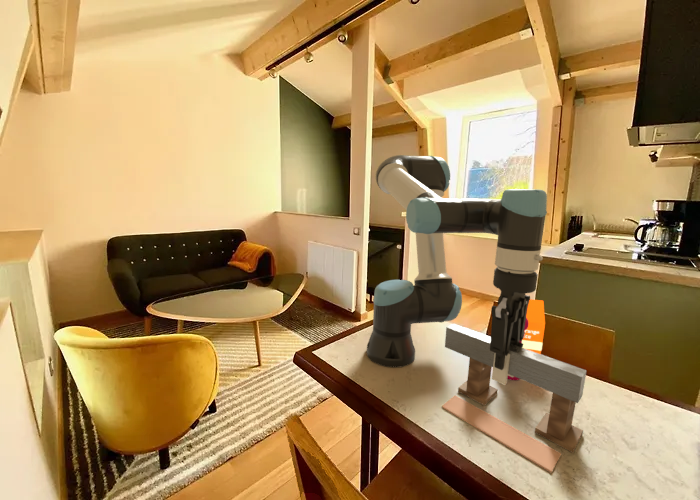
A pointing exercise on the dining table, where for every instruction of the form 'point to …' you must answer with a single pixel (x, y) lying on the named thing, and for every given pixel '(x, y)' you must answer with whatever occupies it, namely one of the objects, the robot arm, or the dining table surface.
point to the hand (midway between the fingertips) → (503, 377)
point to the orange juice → (534, 326)
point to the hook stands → (552, 424)
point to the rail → (520, 363)
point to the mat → (504, 433)
